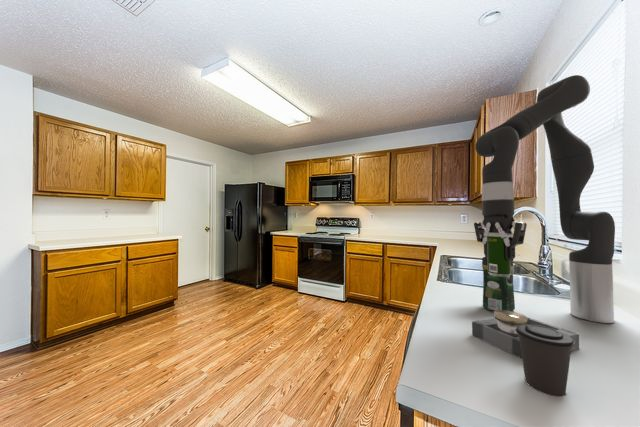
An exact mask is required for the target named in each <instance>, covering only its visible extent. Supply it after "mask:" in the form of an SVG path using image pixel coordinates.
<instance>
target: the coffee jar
mask: <svg viewBox="0 0 640 427" xmlns="http://www.w3.org/2000/svg"><path fill="white" fill-rule="evenodd" d="M481 268H482V273H483V274H482V275H483V276H482V277H483V283H482V284H483V286H482V287H483V290H482V307H483V308H484V309H486V310H488V311H490V312H493V313H494V311H496V310H506V311H512V312H514V310H516V307H515V305H516V304H515V288H514V260H511V275H510V276H509V277H499V276H492V275H489V273H488V264H487V257H485V256H484V257H482V258H481Z"/></svg>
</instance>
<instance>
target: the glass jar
mask: <svg viewBox="0 0 640 427" xmlns="http://www.w3.org/2000/svg"><path fill="white" fill-rule="evenodd" d="M527 317H528V316H526V315H524V314H522V313H520V312H515V311H506V310H496V311H494V312H493V318H495V319H497V323H498V331H501V332H503V333H505V334H508V335H510V336H513V337H515V338H516V337H519V335H518V333H517V332H516V331H515V329H516V328H517V326H519V325H526V324H527Z"/></svg>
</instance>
